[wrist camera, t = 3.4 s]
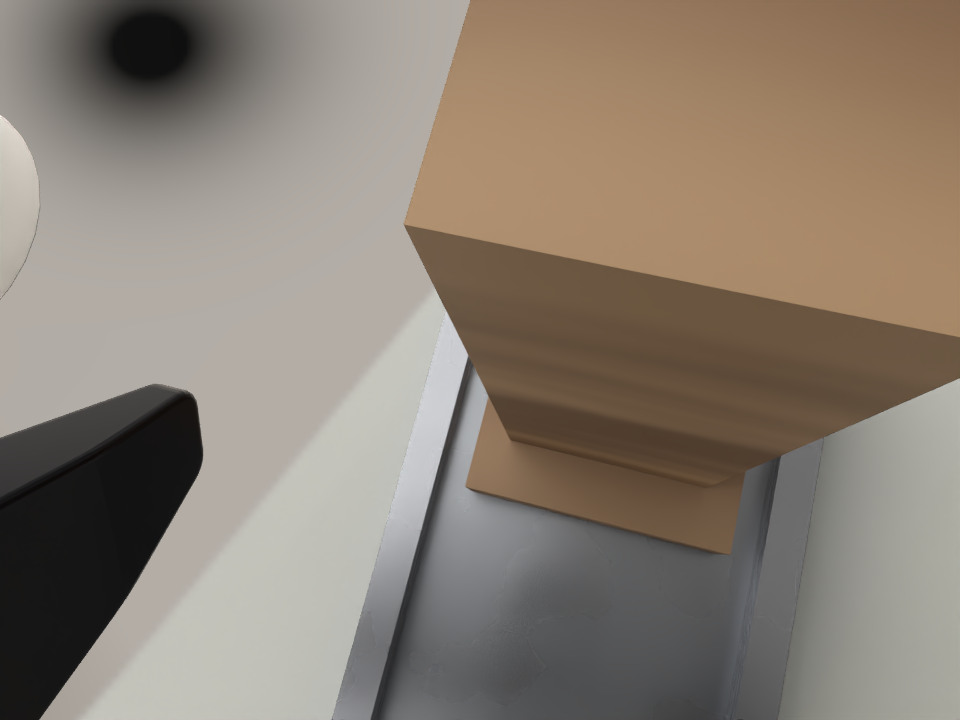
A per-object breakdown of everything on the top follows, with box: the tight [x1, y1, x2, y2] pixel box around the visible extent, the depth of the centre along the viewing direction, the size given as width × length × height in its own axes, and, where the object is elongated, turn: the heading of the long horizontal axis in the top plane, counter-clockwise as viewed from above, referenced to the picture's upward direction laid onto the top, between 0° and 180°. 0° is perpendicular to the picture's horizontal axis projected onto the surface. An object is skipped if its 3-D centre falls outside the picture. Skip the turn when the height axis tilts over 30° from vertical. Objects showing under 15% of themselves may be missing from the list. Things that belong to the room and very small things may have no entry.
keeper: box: [404, 0, 960, 555], centre depth 12 cm, size 6×6×13 cm
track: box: [332, 311, 824, 720], centre depth 16 cm, size 21×9×2 cm, turn 165°
